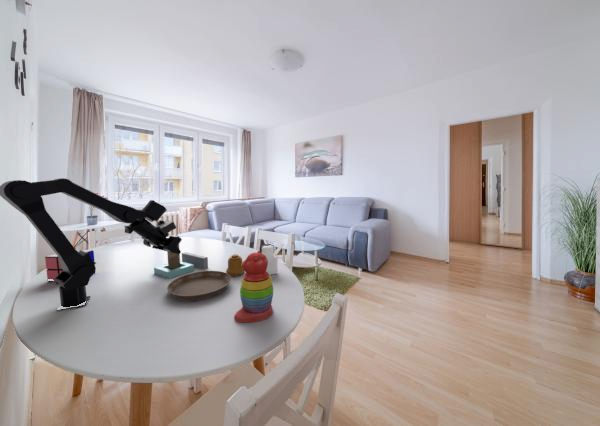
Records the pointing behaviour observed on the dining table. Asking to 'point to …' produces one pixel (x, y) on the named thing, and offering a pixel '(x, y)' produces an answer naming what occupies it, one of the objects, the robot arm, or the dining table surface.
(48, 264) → the puzzle cube
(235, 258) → the ornamental finial
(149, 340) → the dining table surface
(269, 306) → the stacking bear
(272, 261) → the medicine bottle
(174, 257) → the walnut dowel
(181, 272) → the socket block
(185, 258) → the charcoal wall
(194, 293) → the plant saucer
